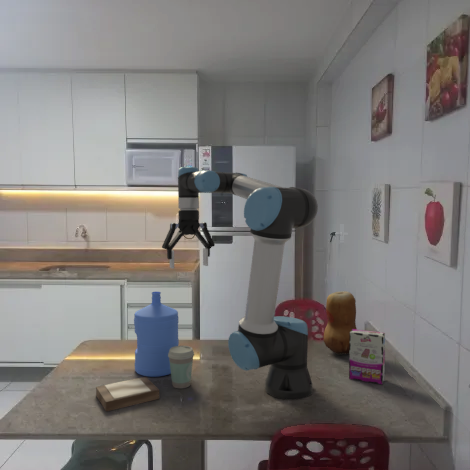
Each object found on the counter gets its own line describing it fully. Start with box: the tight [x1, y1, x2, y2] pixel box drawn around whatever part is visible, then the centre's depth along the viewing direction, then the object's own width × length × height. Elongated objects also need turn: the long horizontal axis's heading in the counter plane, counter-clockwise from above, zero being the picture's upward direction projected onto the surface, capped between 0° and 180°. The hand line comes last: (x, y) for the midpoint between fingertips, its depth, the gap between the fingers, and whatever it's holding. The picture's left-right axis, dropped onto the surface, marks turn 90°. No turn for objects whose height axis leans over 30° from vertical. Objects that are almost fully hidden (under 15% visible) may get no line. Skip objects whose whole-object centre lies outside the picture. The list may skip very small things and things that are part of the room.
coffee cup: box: [168, 345, 195, 389], centre depth 141 cm, size 9×8×12 cm
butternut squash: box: [323, 290, 358, 356], centre depth 171 cm, size 14×13×25 cm
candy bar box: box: [348, 329, 386, 385], centre depth 146 cm, size 11×5×16 cm, turn 64°
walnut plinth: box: [95, 376, 160, 412], centre depth 132 cm, size 12×16×3 cm
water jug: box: [133, 291, 180, 378], centre depth 154 cm, size 16×16×28 cm
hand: (189, 266), depth 160 cm, fingers open, 13 cm apart
